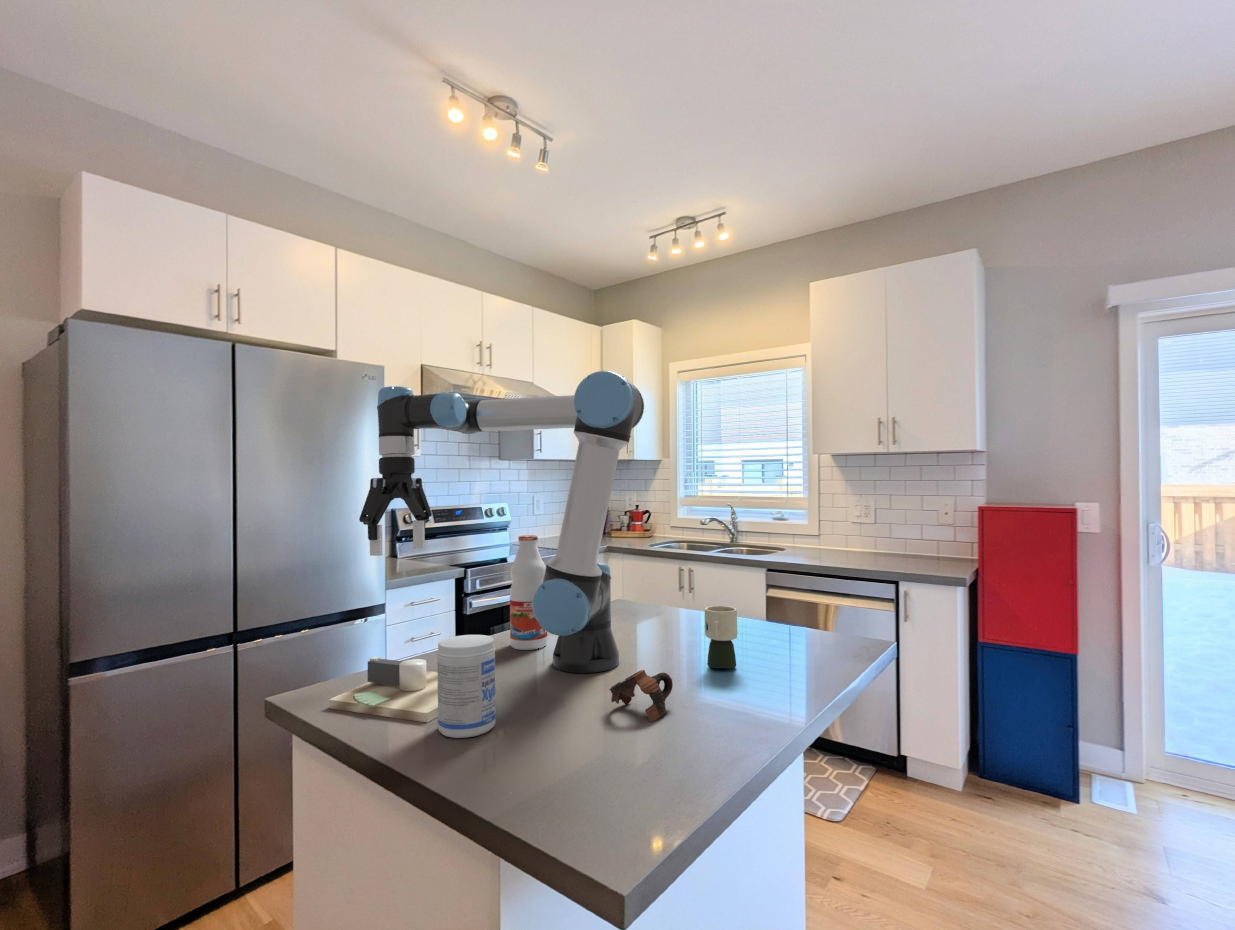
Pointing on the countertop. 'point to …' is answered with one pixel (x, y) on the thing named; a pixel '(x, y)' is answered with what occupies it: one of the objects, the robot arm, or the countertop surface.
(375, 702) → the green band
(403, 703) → the board
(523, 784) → the countertop surface
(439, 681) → the supplement tub
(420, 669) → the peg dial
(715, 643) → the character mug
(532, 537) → the fruit juice
